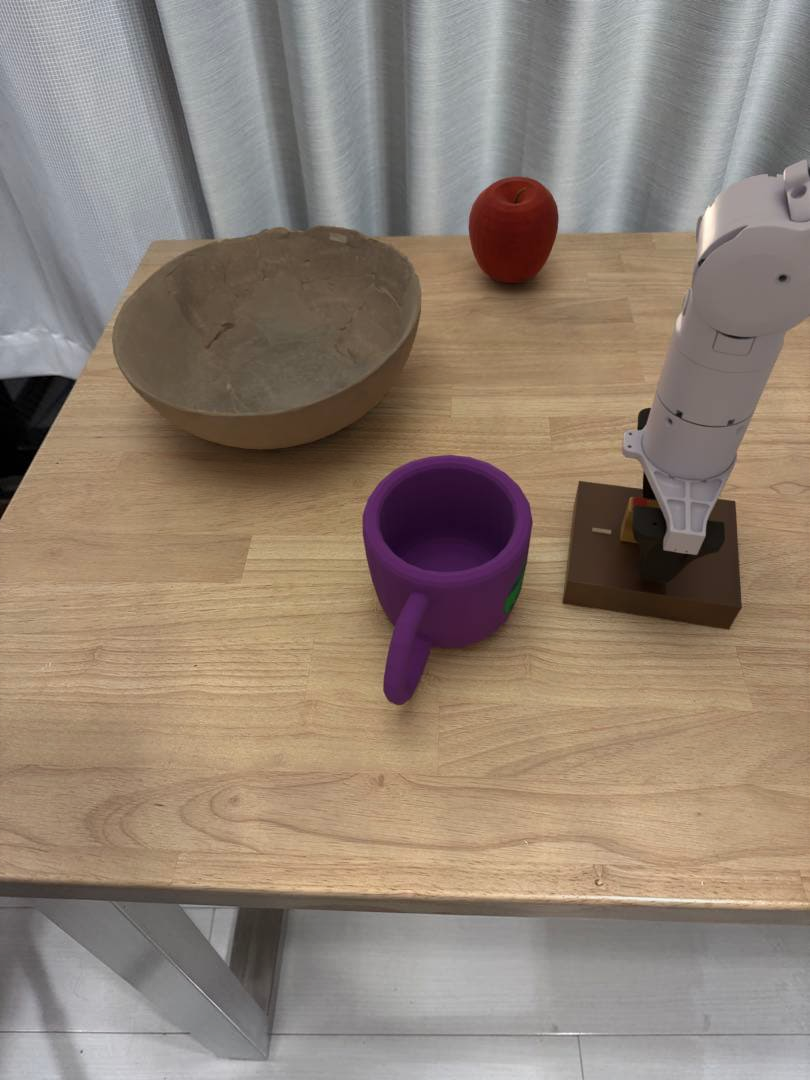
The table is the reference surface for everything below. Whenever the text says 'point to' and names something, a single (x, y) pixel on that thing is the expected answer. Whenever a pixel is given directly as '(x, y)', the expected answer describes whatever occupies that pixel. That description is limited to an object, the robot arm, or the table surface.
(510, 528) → the mug
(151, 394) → the bowl
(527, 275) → the apple
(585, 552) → the lock plate
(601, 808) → the table surface
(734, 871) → the table surface
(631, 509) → the block with red patch
